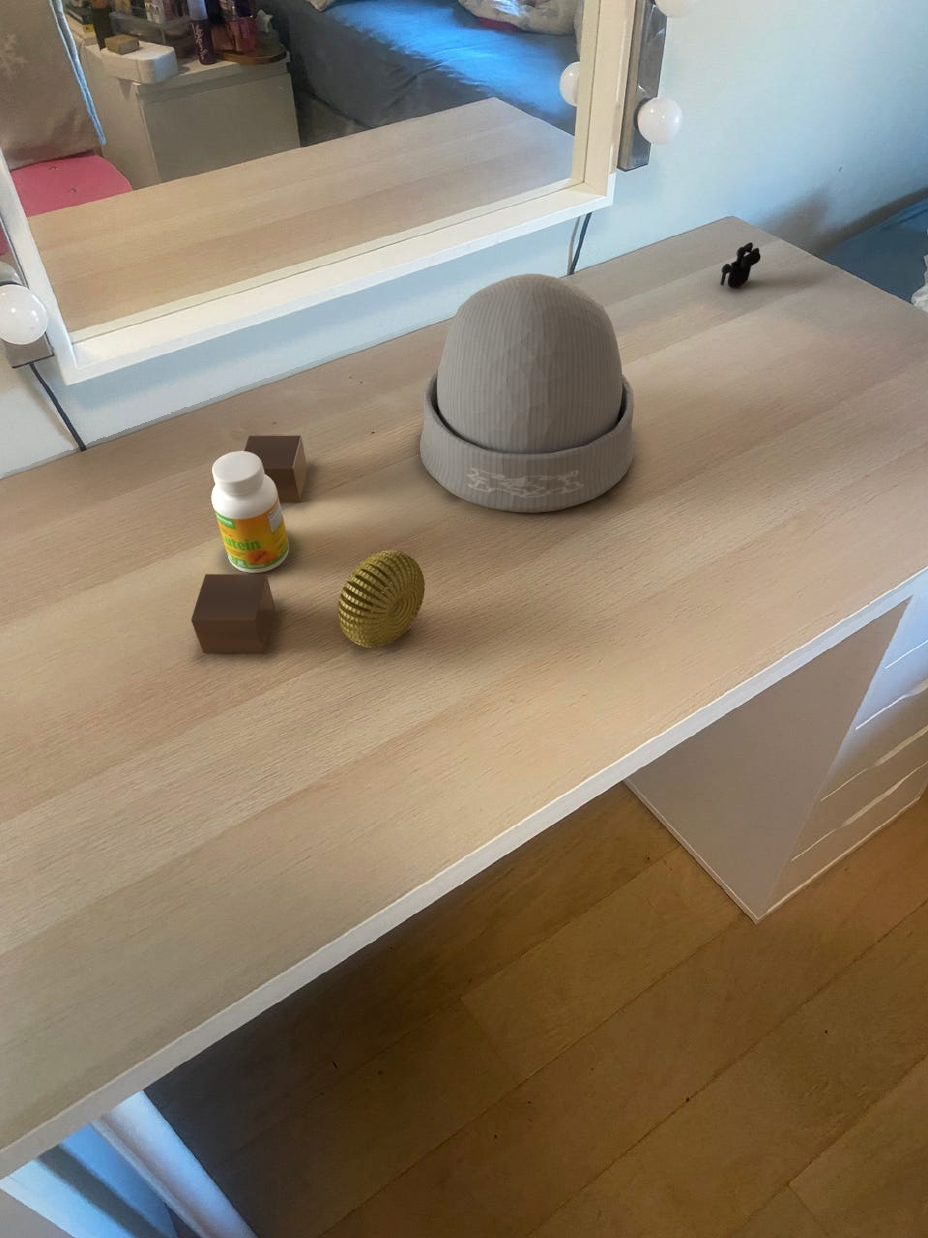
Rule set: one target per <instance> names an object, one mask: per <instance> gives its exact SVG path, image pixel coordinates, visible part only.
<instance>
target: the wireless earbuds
mask: <svg viewBox="0 0 928 1238" xmlns="http://www.w3.org/2000/svg"><path fill="white" fill-rule="evenodd" d="M761 256H762V255H761V253H760V248H759V247H755V248H754V244H753V242H751V241H750V242H748V243H746V244H744V246H740V247H739V248H738V249H737V251H736V260H735V261H733V262H731V264H729V263H725V264H723V266H722V268H721V278H720V284H719V285H720V286H722V287H723V286H725V281H726V277H727V274H728V278H727V285H728V287H729V288H731V289H736V288H738V287H740V286H741V285H743V284H745V283H746V282H747V281H748V280H749V278H750V275H751V274H750V273H751V269H752V267H753V266H755V265H756V264H758V263H759V262H760V260H761V258H762V257H761Z"/></svg>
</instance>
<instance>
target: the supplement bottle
mask: <svg viewBox="0 0 928 1238" xmlns="http://www.w3.org/2000/svg"><path fill="white" fill-rule="evenodd" d="M211 472H212V476H213V480H214V483H215V485H214V487H213V488H212V491H211V504H212V508H213V511H214V514H215V517H216V521H217V523H218V527H219V530H220V535H221V538H222V541H223V544H224V548H225V551H226V554H227V557H228V560H229V562H230V564H231V565H232V566H233V567H234V568H235V569H237V570H239V571H241V572H245V573H248V574H259V573H265V572H268V571H271V570H274V569H275V568H277V567H279V566H280V565H281V564H282V563H283V562H284V561H285V560H286V559H287V557H288V555H289V552H290V544H289V543H290V541H289V538H288V534H287V533H288V532H287V529H286V523H285V519H284V516H283V511H282V507H281V502H279V497H278V493H277V489H276V486H275V484H274V482H273V481H272V479H271V478H270V477H268V476H267V475H265V474H264V469H263V466H262V462H261V460H260V458H259V457H258V456H257V455H255V454H253V453H250V452H245V451H244V450H241V451H240V450H239V451H238V450H237V451H231V452H228V453H226V454H224V455H221V456H220V457H219V458H217V459H216V461H215V462H214V463H213V464H212V468H211Z"/></svg>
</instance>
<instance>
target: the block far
mask: <svg viewBox="0 0 928 1238" xmlns="http://www.w3.org/2000/svg"><path fill="white" fill-rule="evenodd" d="M247 437H248V438H247V441H246V443H245V446H244V450H243V451H245V452H250V453H253V454H255V455H257V456H258V457H259V458H260V460H261V462H262V466H263V469H264V474H265V475H267V476H268V477H270V478H271V479H272V481H273V482H274V484H275V486H276V489H277V493H278V497H279V502H280V503H301V499H302V495H303V490H304V487H305V482H306V477H307V473H308V463H307V459H306V454H305V448H304V443H303V438H302V435H248V436H247Z"/></svg>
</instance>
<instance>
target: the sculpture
mask: <svg viewBox="0 0 928 1238" xmlns="http://www.w3.org/2000/svg"><path fill="white" fill-rule="evenodd" d="M425 591H426V583H425V576H424V573H423V571H422V569H421V567H420V565H419V564H418V562H417V561H416V560H415V558H413V557H412V556H410V555H408V554H407V553H405V552H402V551H399V550H382V551H379V552H376V553H373V554H371V555H369V556H368V557H366V558H365V559H364V560H362V561H361V562H360V563H359V564H358V565H357V566H356V567H355V568H354V569H353V571H352V572H351V574H350V575H348V578H347V580H345V583H344V586H343V587H342V589H341V592H340V594H339V598H338V602H337V603H338V604H337V618H338V622H339V626H340V628H341V631H342V632H343V634H344V635H345V636H346V637H347V638H348V639H349V640H350V641H351V642H352V643H354V644H356V645H357V646H360V647H363V648H371V649H375V648H381V647H384V646H387V645H390V644H392V643H393V642H395V641H396V640H398V639H399V638H401V636H403V634H405V633H406V632H407V631H408V629H410V627H411V626H412V624H413V623H414V622H415V620H416V619H415V618H417V617H418V615H419V612H420V610H421V608H422V606H423V603H424V602H423V601H424V598H425Z"/></svg>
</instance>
